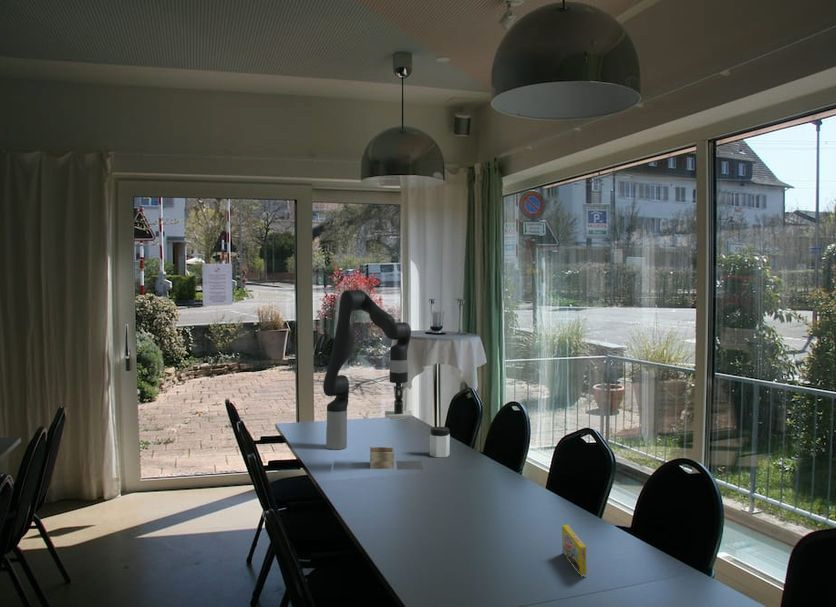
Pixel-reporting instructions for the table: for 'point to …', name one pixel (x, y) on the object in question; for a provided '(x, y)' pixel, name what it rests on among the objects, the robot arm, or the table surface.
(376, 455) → the crate
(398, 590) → the table surface
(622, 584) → the table surface
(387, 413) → the lid
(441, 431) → the jar
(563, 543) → the candy box
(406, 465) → the mat
